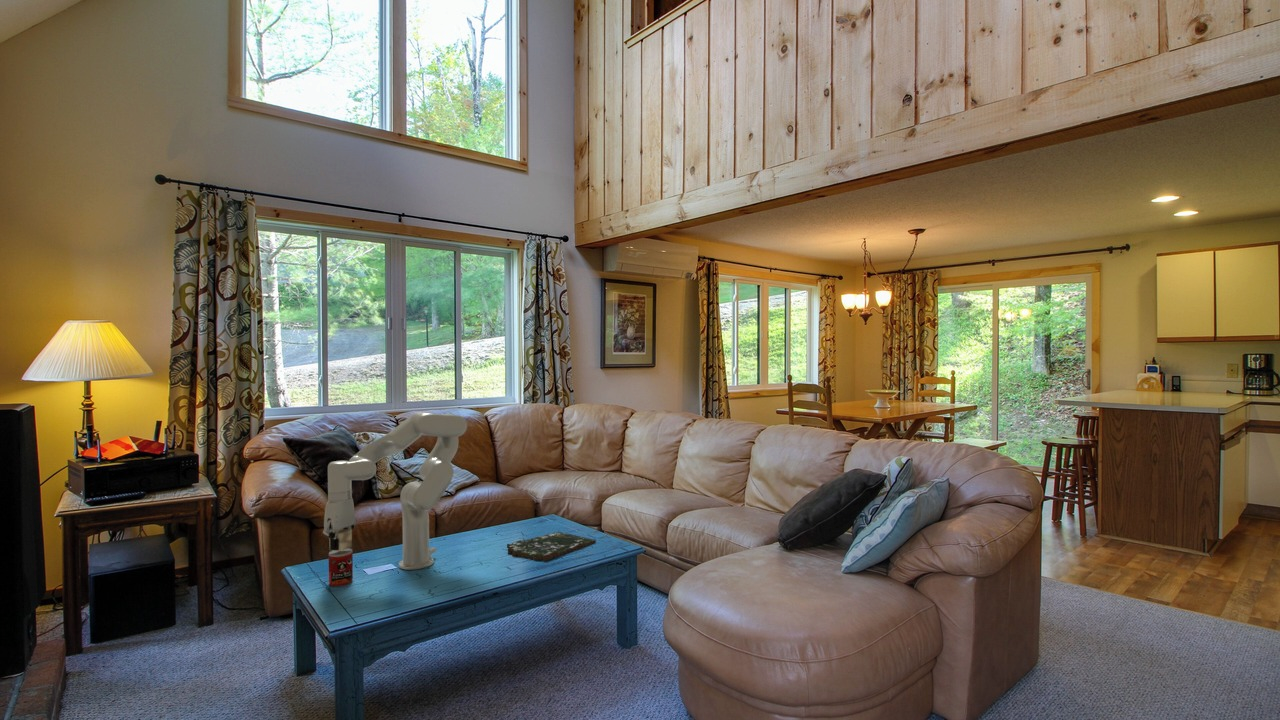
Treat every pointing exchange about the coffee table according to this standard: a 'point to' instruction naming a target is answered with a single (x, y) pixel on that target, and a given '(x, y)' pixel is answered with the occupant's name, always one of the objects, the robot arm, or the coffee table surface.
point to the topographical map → (548, 546)
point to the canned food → (340, 567)
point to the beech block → (344, 539)
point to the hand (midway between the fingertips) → (340, 546)
